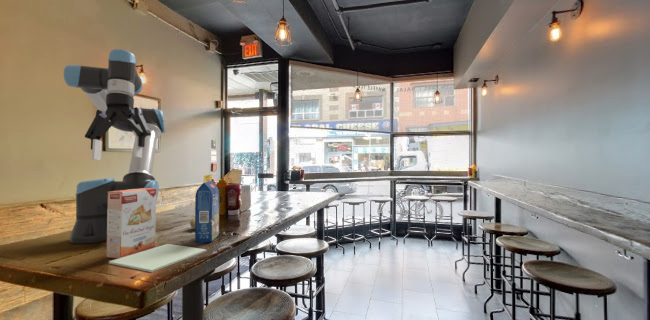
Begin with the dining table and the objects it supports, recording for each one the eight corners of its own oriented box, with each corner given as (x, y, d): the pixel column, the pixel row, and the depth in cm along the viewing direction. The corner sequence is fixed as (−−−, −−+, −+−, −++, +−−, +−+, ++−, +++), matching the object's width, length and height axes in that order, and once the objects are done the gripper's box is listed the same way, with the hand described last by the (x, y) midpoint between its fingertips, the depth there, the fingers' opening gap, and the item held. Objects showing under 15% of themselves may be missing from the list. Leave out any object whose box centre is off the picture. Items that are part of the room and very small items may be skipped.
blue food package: (219, 234, 121) (219, 174, 121) (212, 242, 109) (212, 175, 109) (203, 234, 120) (203, 174, 120) (194, 242, 108) (194, 175, 108)
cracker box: (121, 259, 90) (122, 191, 90) (105, 258, 91) (105, 191, 91) (156, 246, 103) (157, 187, 103) (142, 245, 104) (142, 187, 105)
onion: (198, 232, 125) (198, 215, 125) (186, 230, 129) (186, 214, 129) (213, 228, 132) (213, 212, 132) (201, 226, 136) (201, 211, 136)
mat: (108, 263, 86) (108, 261, 86) (167, 245, 105) (167, 243, 105) (151, 272, 80) (151, 270, 80) (206, 251, 98) (206, 249, 98)
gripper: (73, 94, 94) (68, 159, 90) (150, 88, 93) (148, 153, 90) (92, 102, 101) (88, 162, 98) (163, 97, 101) (162, 157, 97)
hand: (117, 158), depth 94 cm, fingers open, 13 cm apart
